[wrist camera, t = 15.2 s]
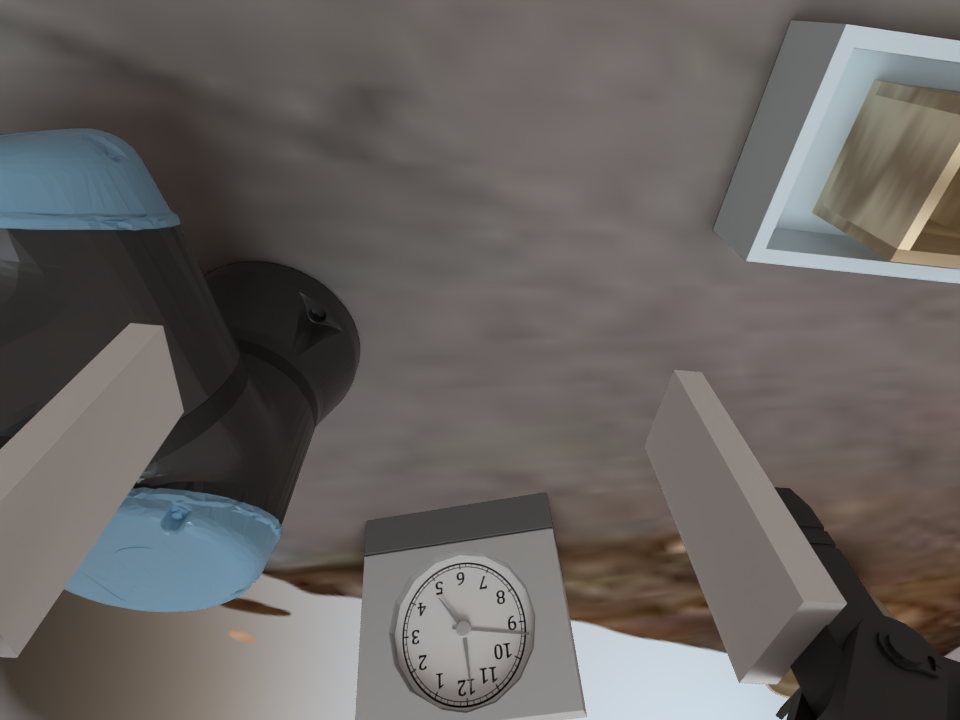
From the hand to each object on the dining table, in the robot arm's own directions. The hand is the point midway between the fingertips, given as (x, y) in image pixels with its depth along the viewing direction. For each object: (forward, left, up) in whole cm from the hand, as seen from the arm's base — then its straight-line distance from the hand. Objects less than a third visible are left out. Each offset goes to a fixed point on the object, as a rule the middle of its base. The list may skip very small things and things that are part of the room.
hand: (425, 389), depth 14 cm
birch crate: (+3, -32, -28) cm, 42 cm away
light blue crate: (+3, -32, -29) cm, 43 cm away
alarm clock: (-46, -6, -29) cm, 54 cm away
